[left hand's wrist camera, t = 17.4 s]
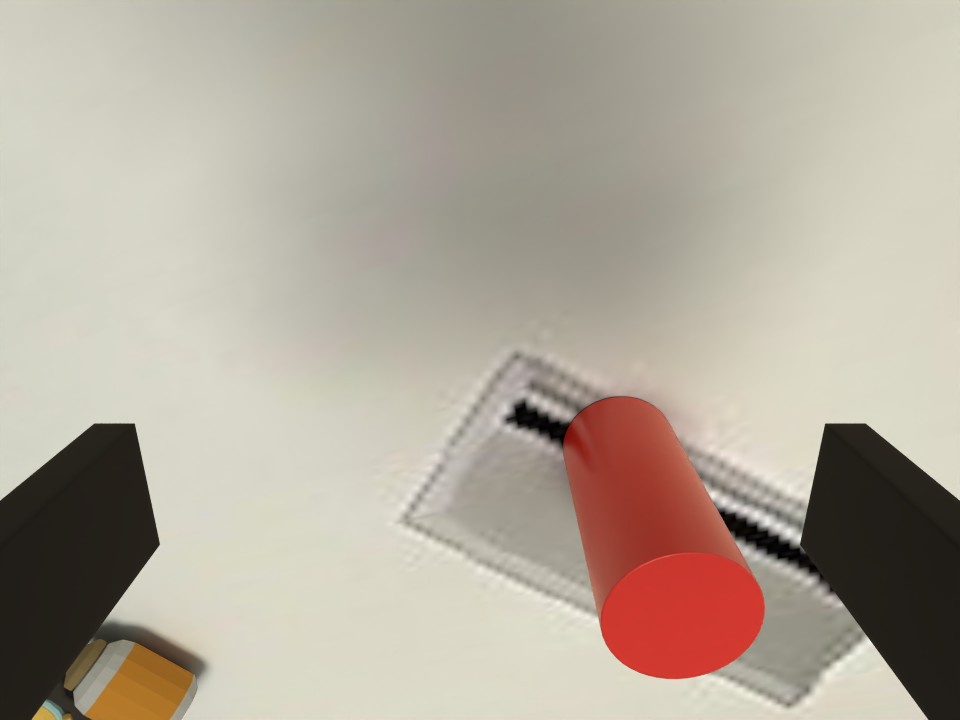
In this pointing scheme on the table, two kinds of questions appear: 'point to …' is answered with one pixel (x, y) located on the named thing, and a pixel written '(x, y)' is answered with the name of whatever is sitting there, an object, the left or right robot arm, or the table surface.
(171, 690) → the spray gun
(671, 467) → the canister
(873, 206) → the table surface
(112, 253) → the table surface
